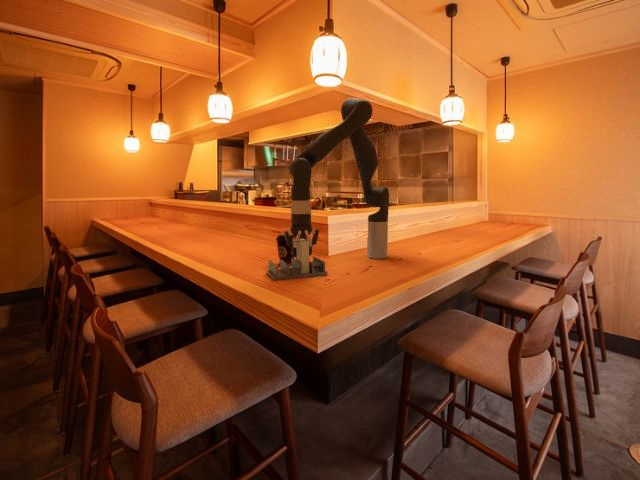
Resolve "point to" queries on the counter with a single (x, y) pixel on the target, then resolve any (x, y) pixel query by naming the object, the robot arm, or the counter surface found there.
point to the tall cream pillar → (303, 254)
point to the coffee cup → (284, 249)
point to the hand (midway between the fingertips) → (302, 256)
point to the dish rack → (296, 269)
